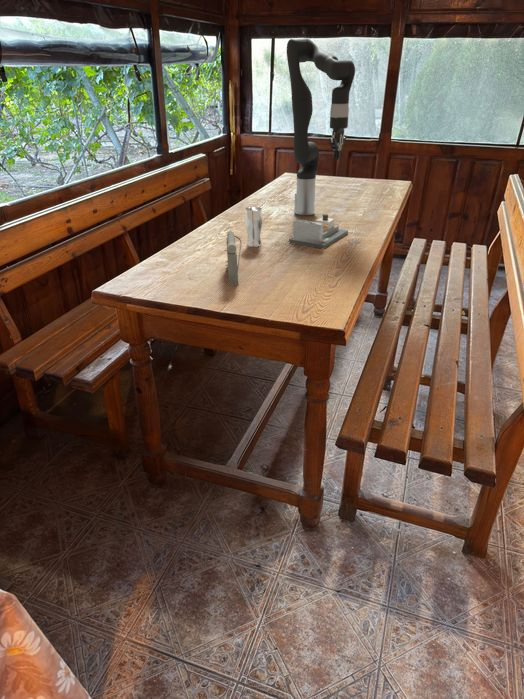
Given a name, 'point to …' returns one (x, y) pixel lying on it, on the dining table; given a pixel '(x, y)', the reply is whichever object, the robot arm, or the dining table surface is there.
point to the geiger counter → (232, 258)
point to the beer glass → (253, 225)
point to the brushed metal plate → (308, 231)
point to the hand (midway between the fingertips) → (336, 159)
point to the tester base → (325, 238)
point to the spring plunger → (326, 222)
